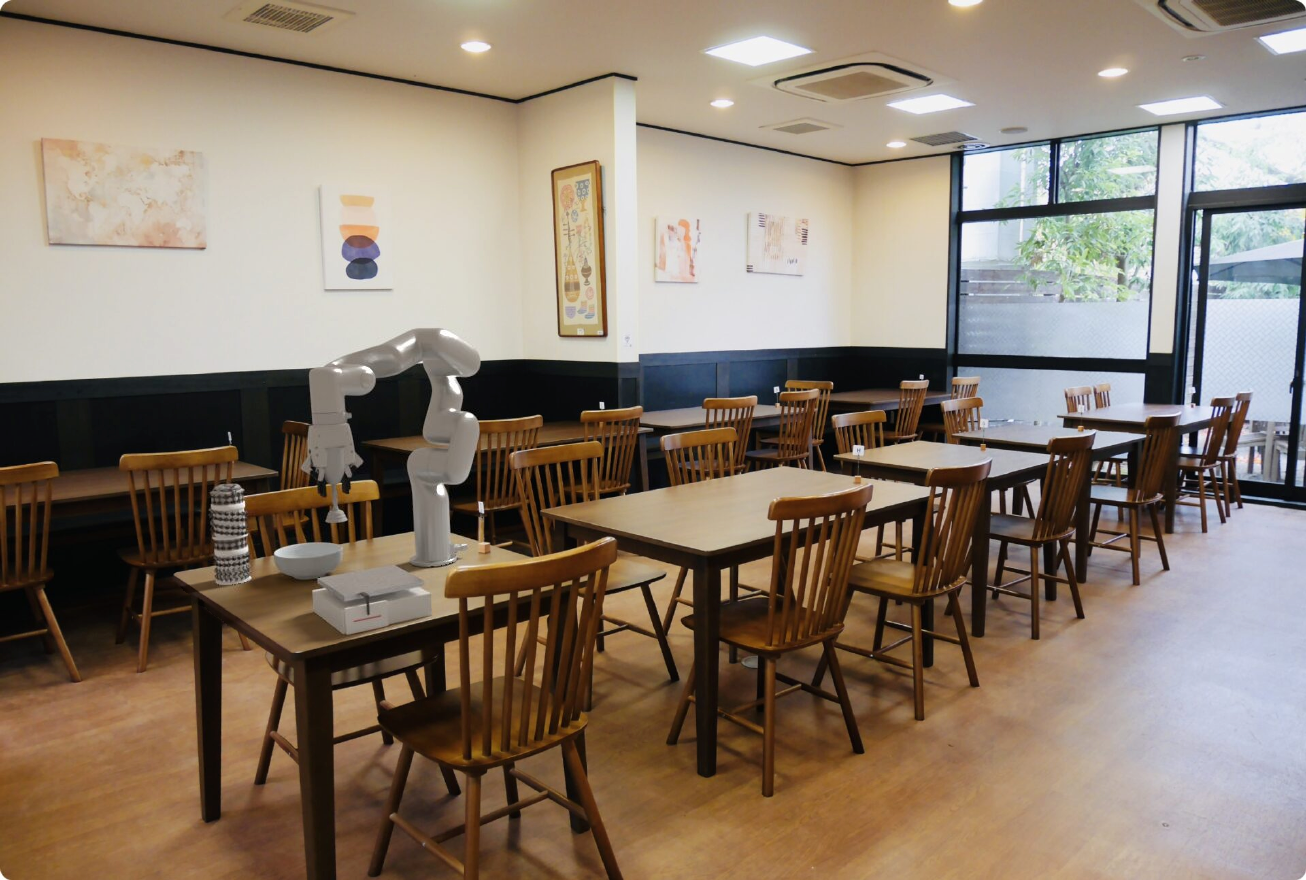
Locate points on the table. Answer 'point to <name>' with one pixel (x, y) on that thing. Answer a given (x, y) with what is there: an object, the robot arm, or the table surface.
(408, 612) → the base
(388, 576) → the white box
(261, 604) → the table surface
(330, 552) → the cereal bowl
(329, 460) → the chalice
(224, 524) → the decorative candle
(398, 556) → the table surface
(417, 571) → the table surface
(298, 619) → the table surface
